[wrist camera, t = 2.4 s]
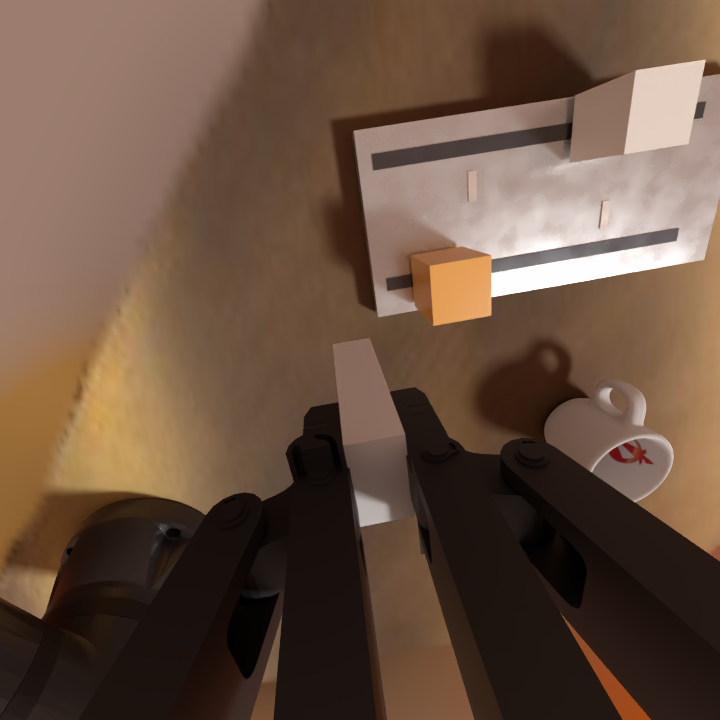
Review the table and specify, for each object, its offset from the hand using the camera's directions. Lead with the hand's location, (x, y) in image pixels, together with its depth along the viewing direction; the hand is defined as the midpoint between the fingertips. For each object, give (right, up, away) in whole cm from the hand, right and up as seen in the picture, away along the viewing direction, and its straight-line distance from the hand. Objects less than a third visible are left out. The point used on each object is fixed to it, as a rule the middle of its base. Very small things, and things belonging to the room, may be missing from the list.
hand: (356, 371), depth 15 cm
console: (+14, +13, +13) cm, 23 cm away
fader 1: (+6, +7, +13) cm, 16 cm away
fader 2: (+17, +17, +10) cm, 26 cm away
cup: (+22, -5, +22) cm, 32 cm away
